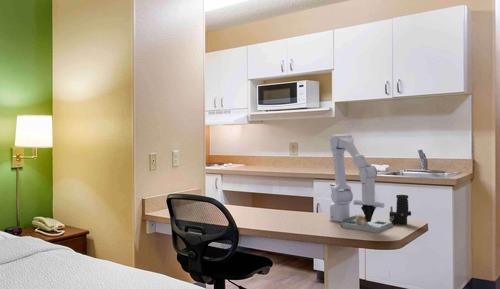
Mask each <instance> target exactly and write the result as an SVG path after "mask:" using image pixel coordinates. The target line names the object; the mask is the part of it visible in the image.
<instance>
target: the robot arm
mask: <svg viewBox="0 0 500 289" xmlns="http://www.w3.org/2000/svg"><path fill="white" fill-rule="evenodd" d="M354 141H355V140H354V137H352V135H351V134H349V133H348V134H332V136H331V138H330V139H329V143H330V150H331V152H332V160H333V162H332V163H333V172H334V180H335V185H334V186H332V188H331V193H330V194H331V195H330V198H331V201H332V202H331V204H330V206H329V219H328V220H329V221H332V222H338V223H339V222H340V223H341V220H342V219H345V218H348V217H351V214H350V204H351V202H352V203H353V205H354V206H361V208H360V209H361V210H362V212H363V215H365V217H366V221H367V222H371V219H372V218H373V215H374V212H375V210H376V209H377V208H380V209H383V208H385V203H384V202H379V201H376V192H375V191H376V190H375V186H376V185H375V184H376V183H375V179H376V177H377V176H378V169H377V168H376V166H375V165H372V164H370V162H369V161H368V160H367V159H366V157H365V155H364V154H360V153H359V150H358V149H357V147H356V145H355V144H354ZM346 151H347V152H348V153H349V155H350V156H351V157H352V162H353V164H354V165H355V167H356V168H357V170H358V171H359V172H358V176H359V179H360V183H361V200H360V199H359V200H357V199H356V200H353V198H354V194H353V192H352V187H351V186H350V185H349V184H348V183H347V179H346V178H347V177H346V171H345V170H346V168H345V161H344V152H346Z"/></svg>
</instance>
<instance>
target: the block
mask: <svg viewBox="0 0 500 289" xmlns="http://www.w3.org/2000/svg"><path fill="white" fill-rule="evenodd" d="M356 215H357V216H356V224H359V225H366V224H368V222H367V221H366V217H365V215H364V214H356Z"/></svg>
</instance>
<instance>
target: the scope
mask: <svg viewBox="0 0 500 289" xmlns="http://www.w3.org/2000/svg"><path fill="white" fill-rule="evenodd" d="M409 216H412V211H411V210H409V195H407V194H397V195H396V210H395V211H393V206H390V211H389V219H388V220H389V222H392V225H398V226H399V225H401V226H406V225H408V217H409Z"/></svg>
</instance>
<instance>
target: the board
mask: <svg viewBox="0 0 500 289" xmlns="http://www.w3.org/2000/svg"><path fill="white" fill-rule="evenodd" d="M357 215H358V214H355V215H352V216H351V215H350V217H348V218H345V219H342V220H341V222H340V223H341V225H340V226H341V228H344V229H349V230H351V229H352V230H357V231H363V232H370V233H376V234H377V233H379V232H381V231H384V230H387V229H389V228H391V227H393V224H392V222H390V220H389V221H388V220H379V219H374V218H373V219H371V222H368V224H366V225H359V224H356V216H357Z"/></svg>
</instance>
